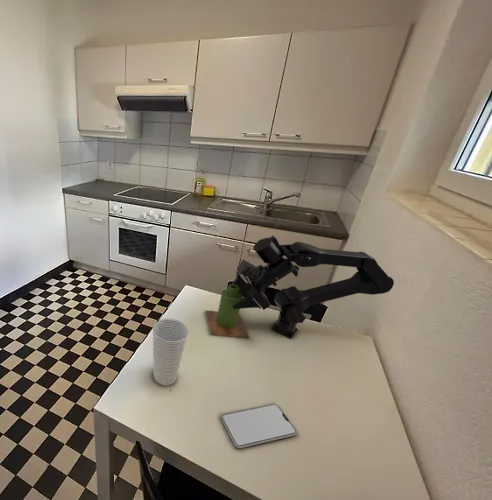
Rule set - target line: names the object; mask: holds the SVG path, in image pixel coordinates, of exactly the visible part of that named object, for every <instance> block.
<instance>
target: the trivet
mask: <svg viewBox="0 0 492 500" xmlns="http://www.w3.org/2000/svg"><path fill="white" fill-rule="evenodd" d="M204 313H205V318H206V321H207V327H208V330H209V334H210V335H211V336H218V337H231V338H241V339H249V336H250V335H249V333H248V331H247V328H246V326H245V324H244V321H243V319H242V317H241V314H240V313H239V315H238V319H237V323H236V326H235V327H234V328H224V327H222V326H220V325H219V324H218V323H217V314H218V310H205V312H204Z"/></svg>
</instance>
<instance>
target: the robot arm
mask: <svg viewBox="0 0 492 500" xmlns="http://www.w3.org/2000/svg"><path fill="white" fill-rule="evenodd" d="M252 249H253V251H254V252H255V253H256V254H257V255H258V257H259V258H260V259H261V260H262V262H263V263H264V264H266V265H264V266H263V265H262V264H259V265H258V266H256V265H254V264H253V263H251V262H249V261H247V260H245V259H242V260H241V261H240V263H239V264H238V265H237V266H236V271H235V279H234V280H233V281H232V283H231V284H235V285H237V286H239V291H240V290H242V289H245V288H248V287H250V289H249V290H246V294H245V296H244V297H243V298H242V299H241V300H240V301H239V302H237V303H236V304H235V305H234V306H233V309H240V310H243V309H259V310H261V309H262V310H263V311H265V310H267V309H268V308H270V307H271V302H270V300H269V299H268V296H267V295H266V294H265V293H266V290H265V289H267V288H269V287H270V286H273V287H276V286H277V285H278V284H277V282H278V281H280V280H282V279H283V278H284V277H286V276H288V275H289V274H291V273H292V275H294V277H299V270H300V268H312V267H313V268H314V267H316V266H319V265H326V266H327V265H328V266H336V267H337V266H338V267H339V266H340V267H347V268H356V272H355V273H354V274H353V275H352V276H351V277H349V278H345V279H342V280H338V281H334V282H331V283H325V284H323V285H319V286H316V287H311V288H308V289H304V290H303V289H298V288H297V287H296V286H295V285H291V286H289V287H286V288H281V290H279V291H277V292H276V294H275V295H274V298H273V301H274V303H275V305H276V306H277V308H278V309H279V310H280V311H279V314H278V316H277V320H276V322H275V323H274V324H273V325H272V327H271V330H273V331H275V332H277V333H278V334H281V335H283V336H285V337H287V338H289V339H293V337H294V336H295V334H296V333H297V332H298V330H299V328H297V325H298V324H304V322H305V320H307V317H306V316H305V315H304V312H305V311H306V310H307V309H308V308H309V307H311V306H313V305H318V304H321V303H325V302H328V301H329V302H330V301H333V300H338V299H341V298H345V297H349V296H353V295H357V294H363V295H372V296H373V295H383V294H386V293H389V292H390V291H391V290H392V289H393V287H394V284H395V281H394V279H393V278H392V277H391V276H389V275H388V274H387V273H386V271H384V269H383V268H382V267H381V266H380V265H379V264H378V262H377V260H376V259H375V258H374V257H373V256H372V255H370V254H368V253H366V252H365V251H348V250H339V249H328V248H320V247H318V246H315V245H312V244H310V243H307V242H302V241H295V242H293V243H292V244H291V243H289V244H280V243H279V240H278V239H277V238H276V237H275V236H274V235H272V236H270V237H264V238H262V239H259V240H257V242H255V244H254V245H253V248H252ZM284 257H285V258H284ZM293 263H294V264H293ZM226 290H228V288H226Z"/></svg>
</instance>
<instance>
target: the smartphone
mask: <svg viewBox="0 0 492 500" xmlns="http://www.w3.org/2000/svg"><path fill="white" fill-rule="evenodd" d="M220 419H221V422H222V423H223V426H224V428H225V429H226V432H227V433H228V436H229V437H230V439H231V442H232V444H233V445H234V447H236V448H238V449H244V448H248V447H252V446H256V445H259V444H264V443H269V442H273V441H276V440H281V439H286V438H290V437H294V436H296V435H297V432H298V431H297V429H296V428H295V426H294V425H293V423H292V422H291V421H290V419H289V418H288V417H287V415H286V414H285V412H284V411H283V410H282V409H281V407H280V406H279V405H278V404H276V403H271V404H264V405H261V406H255V407H251V408H247V409H242V410H235V411H231V412H226V413H223V414H221V416H220Z"/></svg>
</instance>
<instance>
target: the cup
mask: <svg viewBox="0 0 492 500" xmlns="http://www.w3.org/2000/svg"><path fill="white" fill-rule="evenodd" d="M188 334H189V331H188V326H186V325H185V324H184V323H183V322H182V321H179V320H178V319H175V318H162V319H159V320H157V321H155V323H154V324H153V326H152V353H153V354H152V359H153V363H152V365H153V378H154V379H155V382H156V383H158V384H159V385H161V386H171V385H173V384H174V383H175V382H176V380H177V377H178V373H179V369H180V364H181V362H182V357H183V353H184V350H185V345H186V342H187V337H188Z"/></svg>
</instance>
